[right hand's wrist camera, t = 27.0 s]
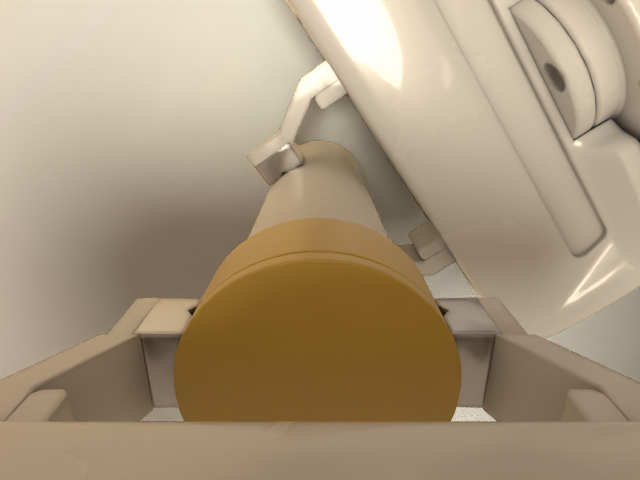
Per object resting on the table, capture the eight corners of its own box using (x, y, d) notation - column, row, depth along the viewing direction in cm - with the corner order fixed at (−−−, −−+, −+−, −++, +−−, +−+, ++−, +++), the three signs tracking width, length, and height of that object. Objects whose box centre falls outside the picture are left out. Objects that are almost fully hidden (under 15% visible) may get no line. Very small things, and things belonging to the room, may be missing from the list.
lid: (476, 335, 10) (518, 404, 8) (307, 446, 12) (304, 531, 9) (332, 165, 9) (335, 194, 7) (156, 313, 10) (112, 378, 8)
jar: (368, 147, 23) (455, 275, 8) (352, 228, 25) (401, 456, 10) (282, 134, 23) (213, 240, 8) (272, 216, 25) (199, 431, 10)
